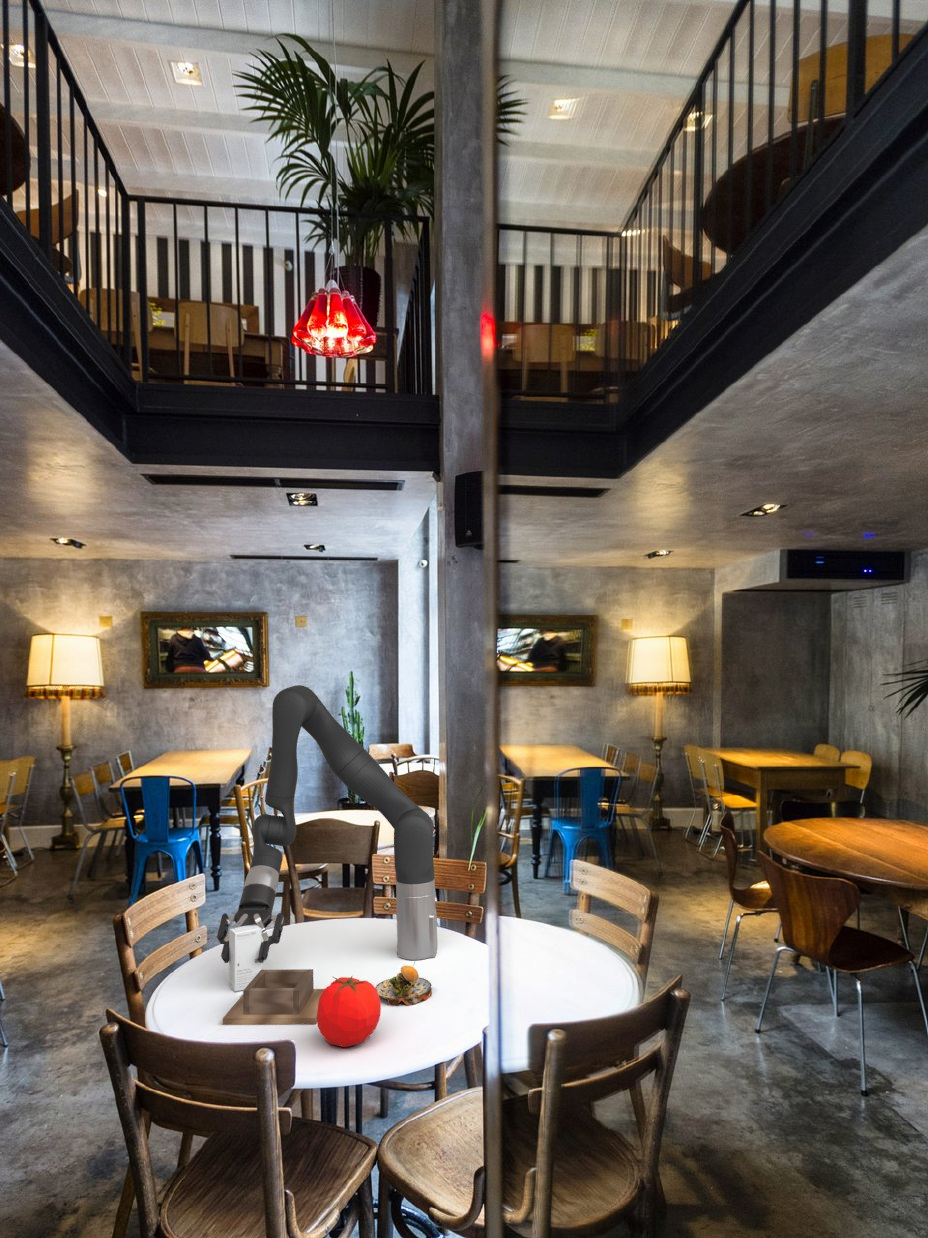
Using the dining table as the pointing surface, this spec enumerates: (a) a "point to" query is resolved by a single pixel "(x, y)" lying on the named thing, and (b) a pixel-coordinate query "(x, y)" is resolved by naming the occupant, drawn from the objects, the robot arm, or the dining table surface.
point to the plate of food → (405, 987)
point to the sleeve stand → (277, 999)
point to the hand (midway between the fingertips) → (243, 961)
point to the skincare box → (244, 955)
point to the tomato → (348, 1011)
